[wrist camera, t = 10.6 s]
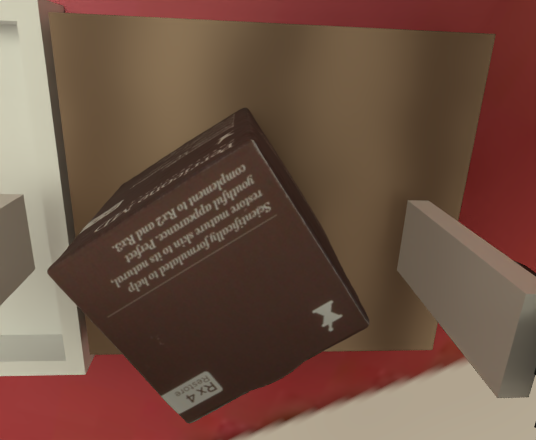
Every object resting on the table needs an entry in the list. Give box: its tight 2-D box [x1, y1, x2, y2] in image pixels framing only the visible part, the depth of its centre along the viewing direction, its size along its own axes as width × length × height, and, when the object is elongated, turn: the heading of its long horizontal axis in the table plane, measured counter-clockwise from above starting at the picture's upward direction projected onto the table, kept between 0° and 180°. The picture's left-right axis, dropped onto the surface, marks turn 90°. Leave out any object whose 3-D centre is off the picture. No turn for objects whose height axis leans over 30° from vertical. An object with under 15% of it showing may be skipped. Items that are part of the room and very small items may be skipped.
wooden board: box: [48, 12, 496, 355], centre depth 19 cm, size 16×14×3 cm
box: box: [47, 107, 369, 423], centre depth 14 cm, size 6×6×7 cm
